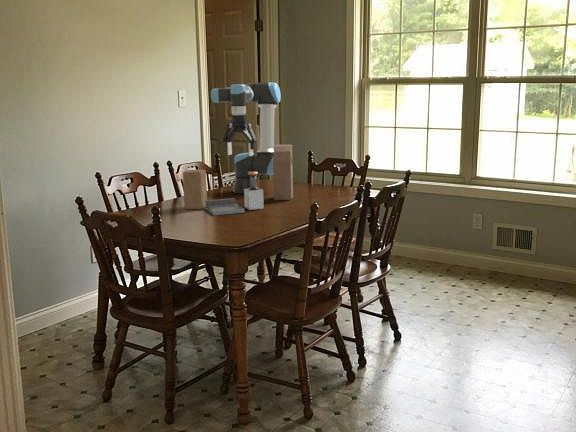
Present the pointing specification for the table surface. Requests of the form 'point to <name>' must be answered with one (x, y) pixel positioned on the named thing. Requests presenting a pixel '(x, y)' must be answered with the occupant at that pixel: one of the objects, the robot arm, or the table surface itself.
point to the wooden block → (194, 189)
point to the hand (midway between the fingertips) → (240, 155)
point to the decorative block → (282, 172)
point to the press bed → (223, 207)
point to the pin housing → (254, 198)
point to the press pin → (253, 179)
